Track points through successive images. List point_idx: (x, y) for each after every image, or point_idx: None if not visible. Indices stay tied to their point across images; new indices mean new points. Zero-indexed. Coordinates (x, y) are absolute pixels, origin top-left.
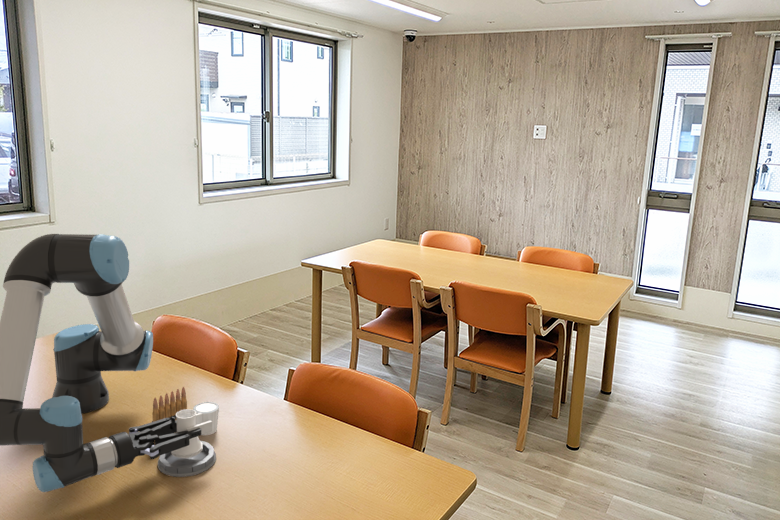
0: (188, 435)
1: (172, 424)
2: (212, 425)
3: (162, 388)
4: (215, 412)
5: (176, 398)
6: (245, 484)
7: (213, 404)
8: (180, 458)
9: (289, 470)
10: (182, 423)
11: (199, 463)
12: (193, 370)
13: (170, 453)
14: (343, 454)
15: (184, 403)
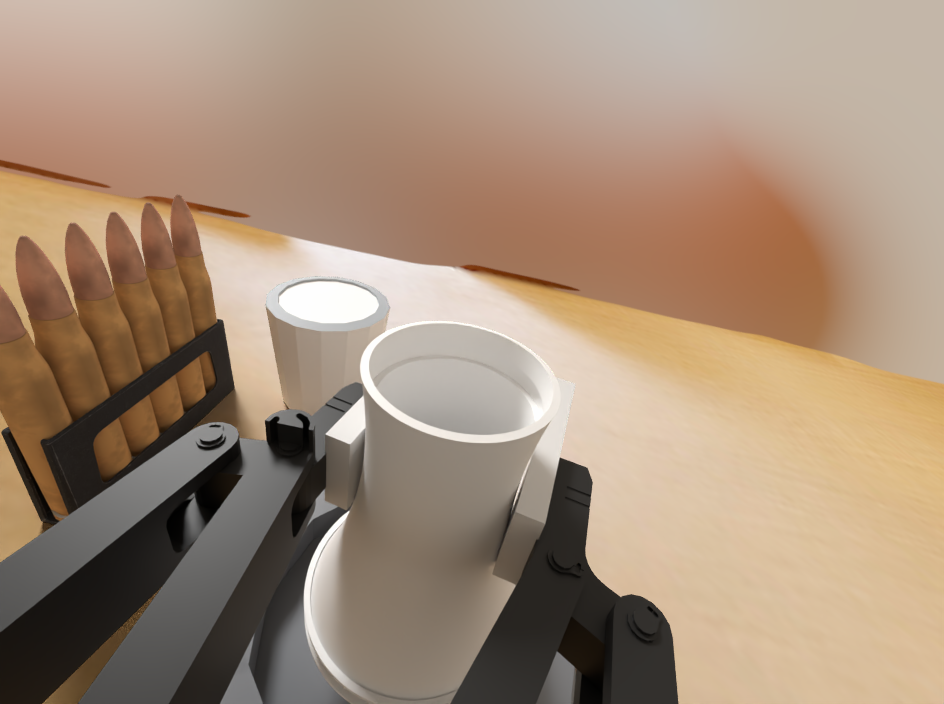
0: (662, 617)
1: (300, 483)
2: None
3: (4, 250)
4: (386, 318)
5: (152, 264)
6: (818, 669)
7: (347, 285)
8: None
9: (784, 497)
10: (488, 482)
11: (562, 666)
12: (110, 201)
13: (263, 622)
14: (768, 391)
15: (202, 290)
